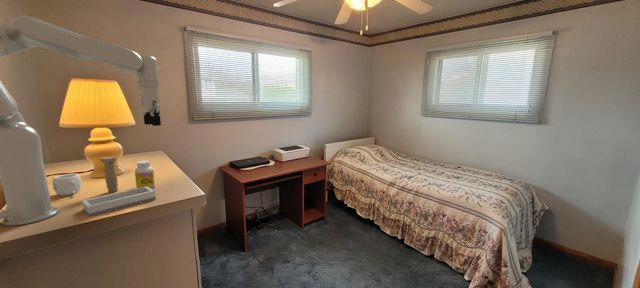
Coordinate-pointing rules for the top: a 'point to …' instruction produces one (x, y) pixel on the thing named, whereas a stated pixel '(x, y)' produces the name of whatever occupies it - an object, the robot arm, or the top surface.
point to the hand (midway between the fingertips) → (152, 125)
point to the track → (118, 200)
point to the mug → (67, 184)
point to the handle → (110, 173)
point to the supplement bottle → (144, 175)
